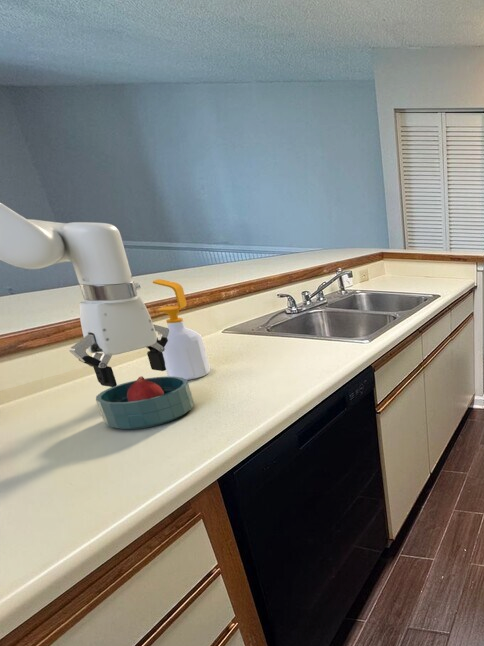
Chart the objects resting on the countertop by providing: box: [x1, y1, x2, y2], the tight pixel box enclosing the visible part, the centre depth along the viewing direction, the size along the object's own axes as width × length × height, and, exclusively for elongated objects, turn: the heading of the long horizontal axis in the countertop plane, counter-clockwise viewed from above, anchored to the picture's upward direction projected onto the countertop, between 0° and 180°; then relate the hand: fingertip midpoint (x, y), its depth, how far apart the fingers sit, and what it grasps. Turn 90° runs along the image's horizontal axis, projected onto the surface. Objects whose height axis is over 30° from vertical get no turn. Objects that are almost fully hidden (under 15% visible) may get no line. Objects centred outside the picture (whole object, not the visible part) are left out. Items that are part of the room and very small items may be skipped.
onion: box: [127, 375, 164, 402], centre depth 87 cm, size 6×6×8 cm
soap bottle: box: [152, 278, 211, 381], centre depth 106 cm, size 9×9×25 cm
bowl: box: [95, 376, 195, 430], centre depth 88 cm, size 15×15×6 cm
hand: (135, 377), depth 85 cm, fingers open, 9 cm apart
